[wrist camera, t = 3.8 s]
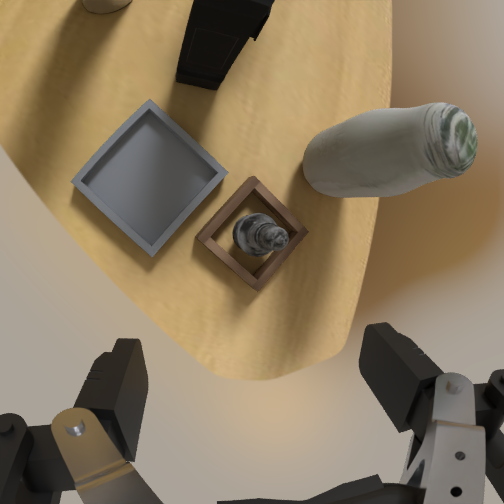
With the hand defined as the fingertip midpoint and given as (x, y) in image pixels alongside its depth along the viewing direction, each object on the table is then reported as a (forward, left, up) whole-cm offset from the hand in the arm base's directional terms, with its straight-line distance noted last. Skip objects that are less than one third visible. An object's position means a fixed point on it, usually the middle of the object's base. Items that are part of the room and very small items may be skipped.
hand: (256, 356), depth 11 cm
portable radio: (-16, +22, -35) cm, 44 cm away
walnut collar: (+6, +9, -35) cm, 36 cm away
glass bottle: (+8, +24, -35) cm, 43 cm away
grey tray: (-10, +5, -35) cm, 36 cm away
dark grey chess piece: (+6, +9, -35) cm, 36 cm away
